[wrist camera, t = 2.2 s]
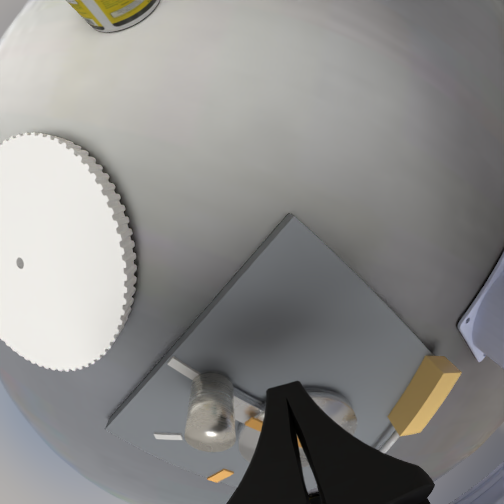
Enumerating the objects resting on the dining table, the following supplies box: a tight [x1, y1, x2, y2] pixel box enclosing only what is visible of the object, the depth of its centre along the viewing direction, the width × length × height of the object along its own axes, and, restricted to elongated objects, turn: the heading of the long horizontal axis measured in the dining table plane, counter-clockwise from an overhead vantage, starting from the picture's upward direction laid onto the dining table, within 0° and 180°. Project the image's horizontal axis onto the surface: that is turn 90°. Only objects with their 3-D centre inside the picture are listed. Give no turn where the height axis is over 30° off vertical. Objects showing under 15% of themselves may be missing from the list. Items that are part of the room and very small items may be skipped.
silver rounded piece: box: [184, 372, 357, 468], centre depth 14 cm, size 12×8×4 cm, turn 49°
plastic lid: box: [0, 132, 137, 371], centre depth 12 cm, size 14×14×2 cm
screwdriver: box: [379, 356, 462, 453], centre depth 16 cm, size 12×2×2 cm, turn 164°
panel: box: [105, 213, 433, 492], centre depth 17 cm, size 20×20×1 cm
